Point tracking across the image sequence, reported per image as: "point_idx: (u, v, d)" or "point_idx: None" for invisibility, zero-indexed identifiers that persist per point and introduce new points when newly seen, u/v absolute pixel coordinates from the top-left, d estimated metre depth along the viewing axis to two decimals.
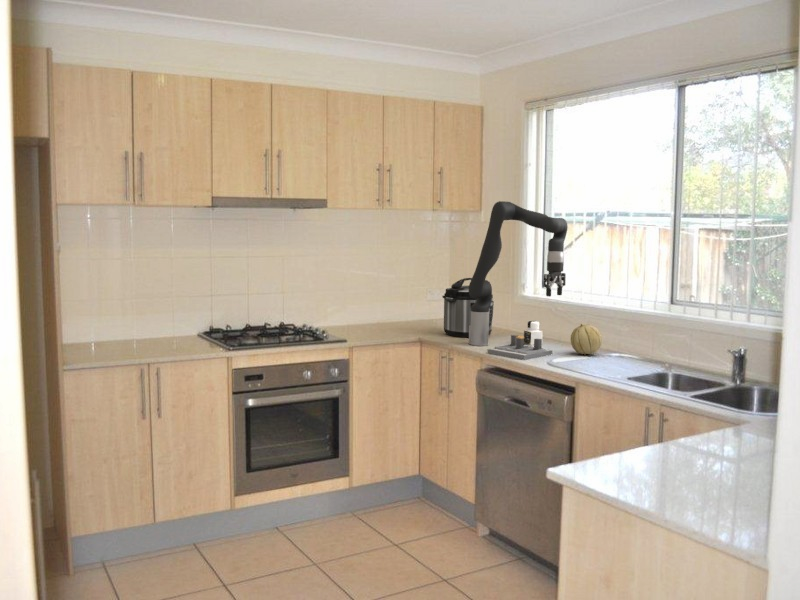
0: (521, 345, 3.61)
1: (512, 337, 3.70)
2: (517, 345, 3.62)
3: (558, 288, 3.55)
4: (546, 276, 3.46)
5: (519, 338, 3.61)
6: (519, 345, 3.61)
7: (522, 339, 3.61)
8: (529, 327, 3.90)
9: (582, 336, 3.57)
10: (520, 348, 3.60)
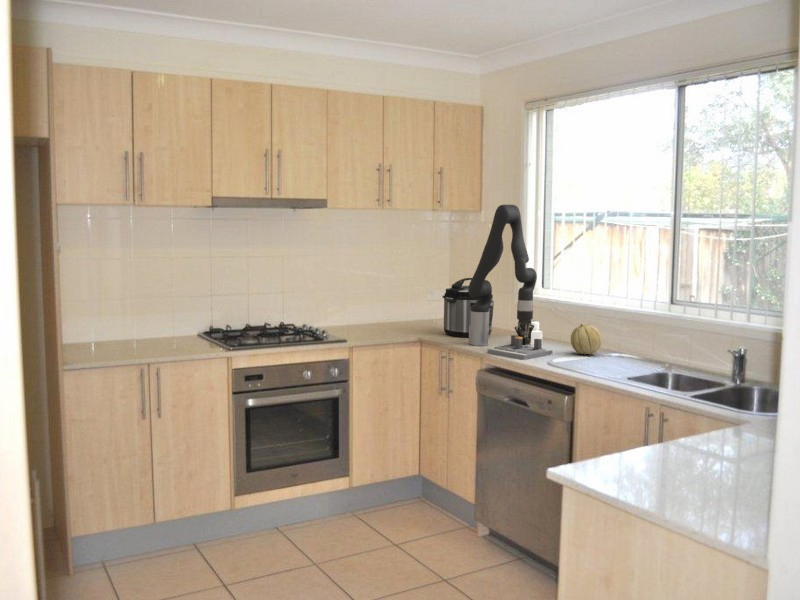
0: (519, 345, 3.60)
1: (512, 337, 3.70)
2: (515, 345, 3.61)
3: None
4: (517, 329, 3.59)
5: (517, 338, 3.60)
6: (517, 345, 3.60)
7: (520, 339, 3.60)
8: None
9: (582, 336, 3.57)
10: (518, 348, 3.59)
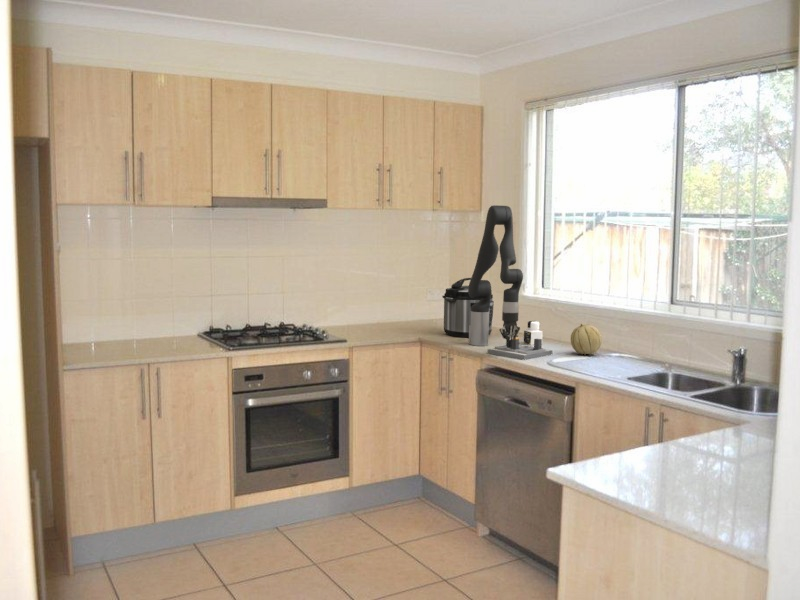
0: (516, 346, 3.58)
1: None
2: (512, 346, 3.59)
3: None
4: (502, 331, 3.52)
5: (514, 339, 3.58)
6: (514, 346, 3.58)
7: (517, 340, 3.58)
8: (529, 327, 3.90)
9: (582, 336, 3.57)
10: (515, 349, 3.58)
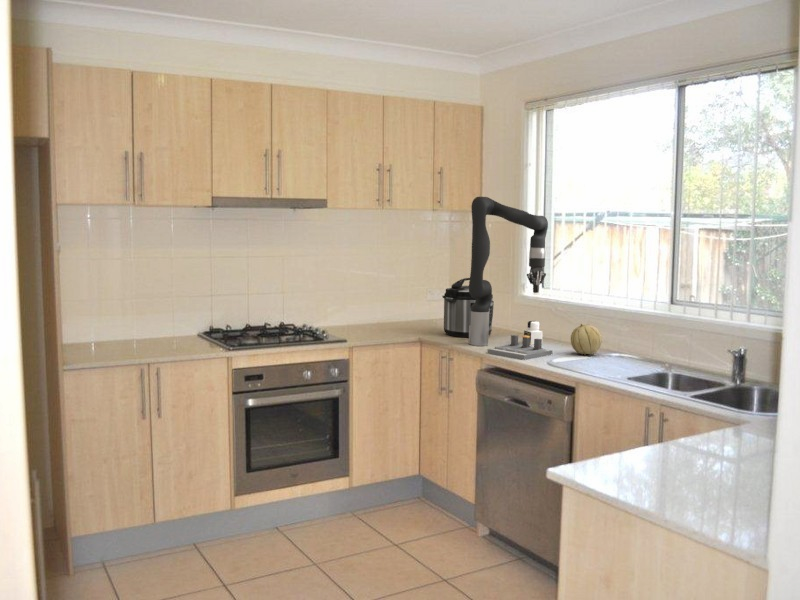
0: (527, 344, 3.64)
1: (512, 337, 3.70)
2: (523, 344, 3.65)
3: None
4: (529, 276, 3.62)
5: (525, 337, 3.64)
6: (525, 344, 3.64)
7: (528, 338, 3.64)
8: (529, 327, 3.90)
9: (582, 336, 3.57)
10: (526, 347, 3.63)
